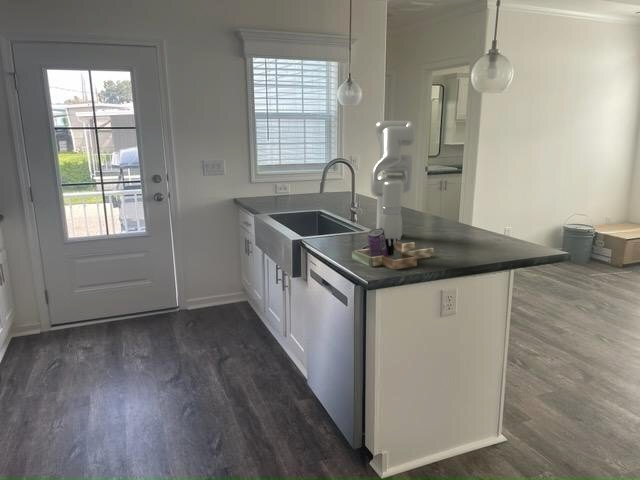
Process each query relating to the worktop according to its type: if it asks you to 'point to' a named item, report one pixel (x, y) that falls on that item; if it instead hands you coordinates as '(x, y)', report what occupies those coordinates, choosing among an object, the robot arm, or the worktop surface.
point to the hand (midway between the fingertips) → (389, 254)
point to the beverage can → (377, 243)
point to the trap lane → (405, 259)
